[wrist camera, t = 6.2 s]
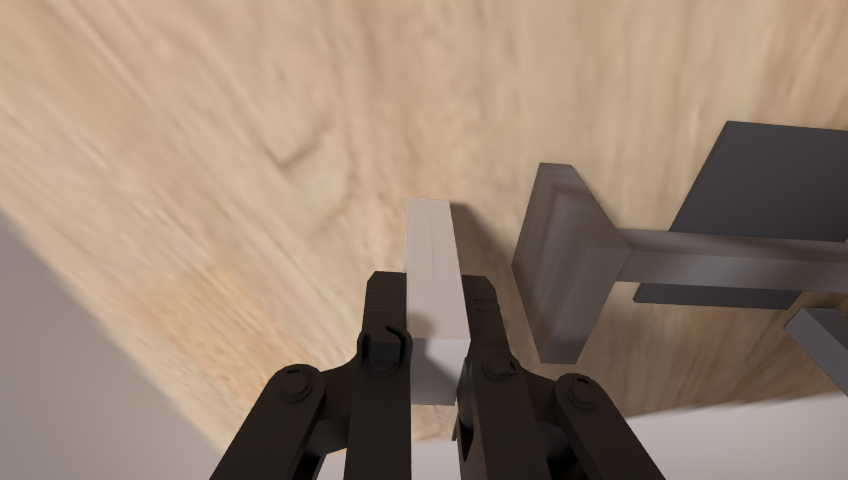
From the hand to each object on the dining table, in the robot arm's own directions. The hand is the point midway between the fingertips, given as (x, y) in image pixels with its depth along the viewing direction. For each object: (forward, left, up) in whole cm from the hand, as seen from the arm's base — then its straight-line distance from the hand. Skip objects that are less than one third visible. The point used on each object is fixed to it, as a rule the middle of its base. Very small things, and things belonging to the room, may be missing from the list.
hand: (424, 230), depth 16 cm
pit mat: (+15, 0, -2) cm, 15 cm away
